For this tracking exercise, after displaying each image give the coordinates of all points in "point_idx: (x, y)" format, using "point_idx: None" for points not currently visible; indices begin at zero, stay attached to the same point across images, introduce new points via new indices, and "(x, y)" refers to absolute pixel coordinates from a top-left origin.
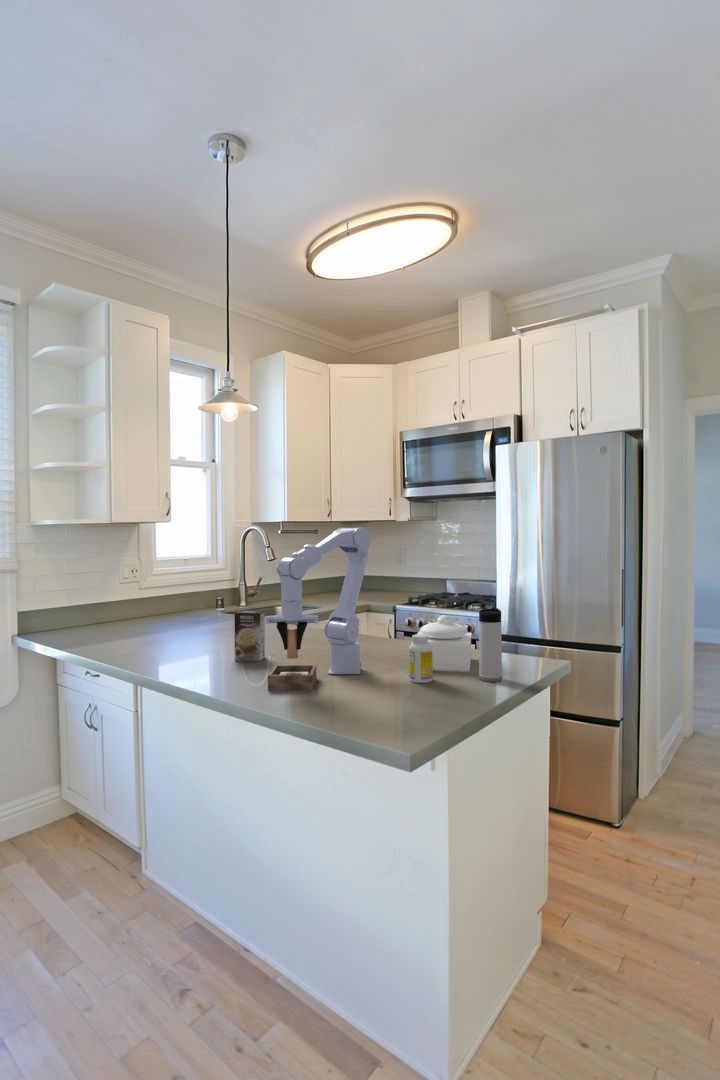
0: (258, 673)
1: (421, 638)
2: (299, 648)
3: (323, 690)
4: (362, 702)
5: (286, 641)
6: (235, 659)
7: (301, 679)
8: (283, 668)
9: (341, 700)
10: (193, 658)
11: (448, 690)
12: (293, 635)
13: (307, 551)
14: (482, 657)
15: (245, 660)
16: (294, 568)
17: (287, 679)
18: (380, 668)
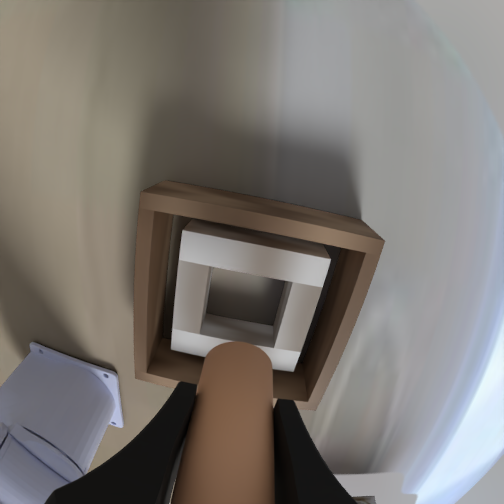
0: (351, 426)
1: None
2: (178, 385)
3: (120, 168)
4: (30, 21)
5: (279, 451)
6: (373, 497)
7: (202, 196)
8: (281, 390)
9: (77, 32)
10: (436, 492)
11: None
12: (210, 478)
13: None
14: None
15: (352, 497)
16: None
17: (278, 211)
18: (7, 373)
